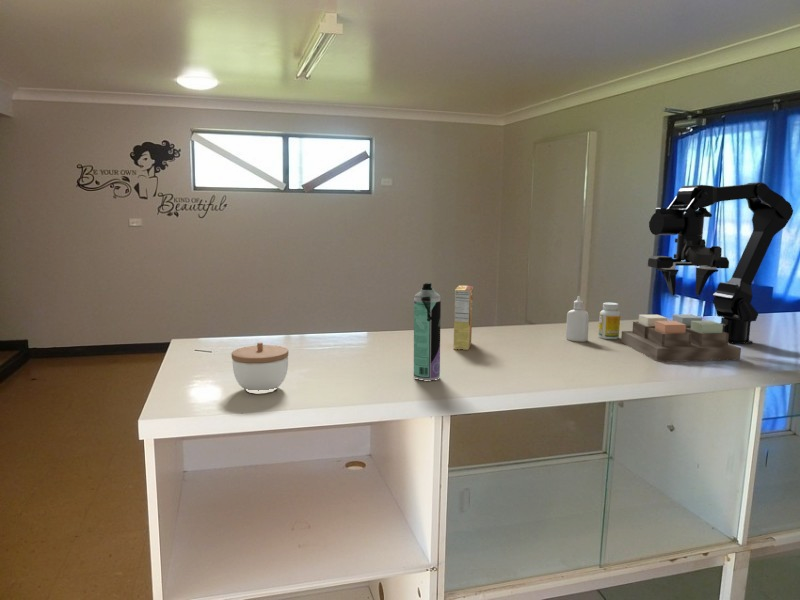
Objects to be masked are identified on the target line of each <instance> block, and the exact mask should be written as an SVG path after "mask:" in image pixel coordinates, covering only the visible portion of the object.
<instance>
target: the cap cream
mask: <svg viewBox="0 0 800 600" xmlns="http://www.w3.org/2000/svg"><path fill="white" fill-rule="evenodd" d="M638 321H639V323H640V324H642V325H645V326H655V321H668V317H665V316H663V315H660V314H638Z"/></svg>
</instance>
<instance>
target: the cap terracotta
mask: <svg viewBox="0 0 800 600" xmlns="http://www.w3.org/2000/svg"><path fill="white" fill-rule="evenodd" d="M655 330H657V331H659V332H661V333H664V334H671V333H685V330H686V325H685V324H682V323H680V322H677V321H672V320H667V321H655Z"/></svg>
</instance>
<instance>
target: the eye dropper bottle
mask: <svg viewBox="0 0 800 600" xmlns="http://www.w3.org/2000/svg"><path fill="white" fill-rule="evenodd" d="M589 322H590V316H589V312H588V311H586V310H584V301H583V300H582V299H581V296H579V295H577V298H576V300H574V301H573V309H571V310H569V311H567V314H566V328H565V339H566V340H568V341H572V342H577V343H579V342H580V343H583V342H587V341H588V340H589Z"/></svg>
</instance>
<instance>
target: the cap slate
mask: <svg viewBox="0 0 800 600" xmlns="http://www.w3.org/2000/svg"><path fill="white" fill-rule="evenodd" d="M671 321H677V322H680V323H682V324H685V325H686V326H691V321H703V317H701V316H698V315H695V314H691V313H690V314H689V313H688V314H685V313H684V314H683V313H682V314H672V319H671Z"/></svg>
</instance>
